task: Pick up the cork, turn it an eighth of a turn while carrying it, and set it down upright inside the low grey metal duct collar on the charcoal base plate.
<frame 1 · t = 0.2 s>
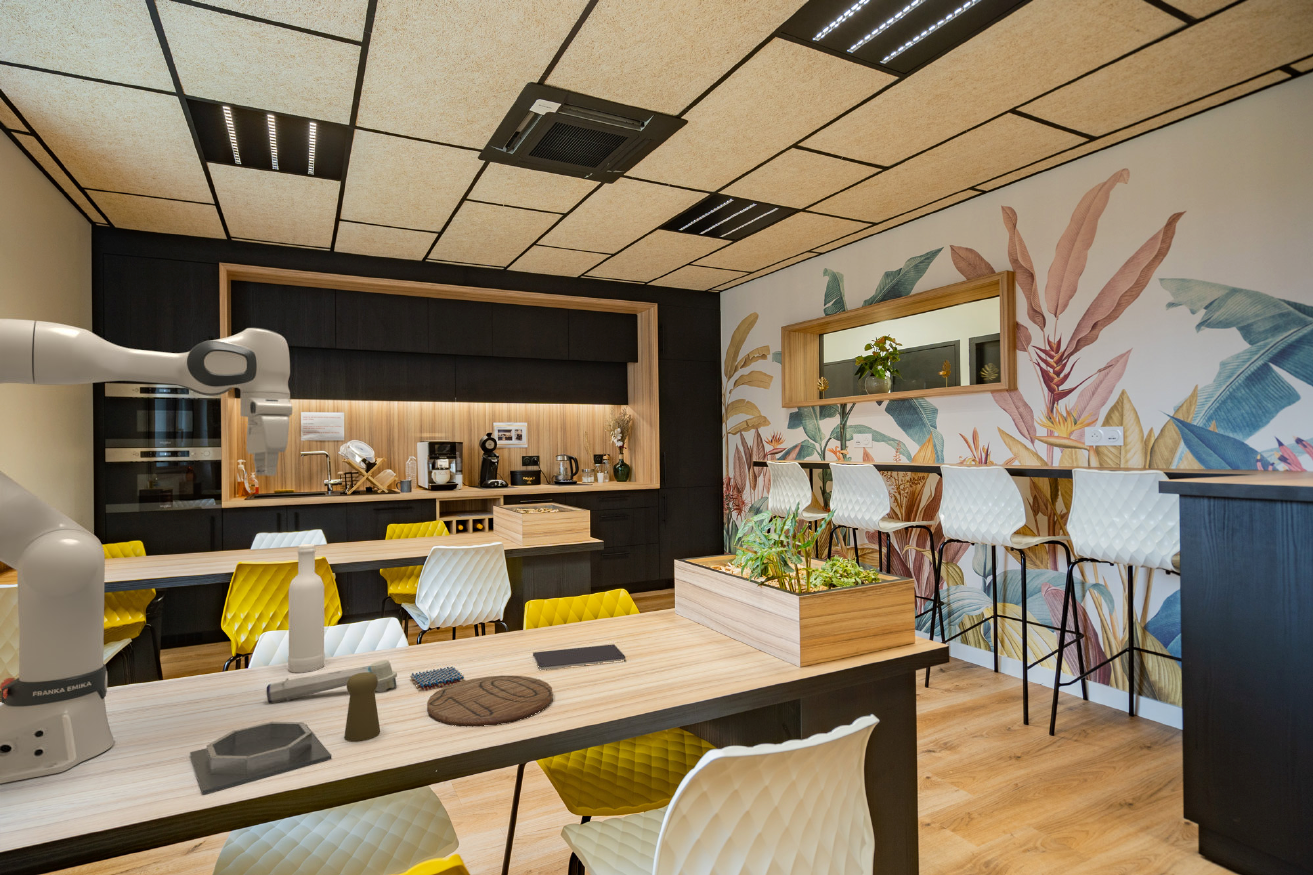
hand: (265, 475, 137), 48 cm above the table, tool pointing down, fingers open, 8 cm apart
notebook: (579, 661, 166), on the table
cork: (362, 735, 122), on the table
woven mat: (437, 684, 151), on the table
bottle: (306, 668, 163), on the table
toothbrush head: (334, 696, 144), on the table
trivet: (491, 705, 137), on the table
duct collar: (260, 757, 113), on the table
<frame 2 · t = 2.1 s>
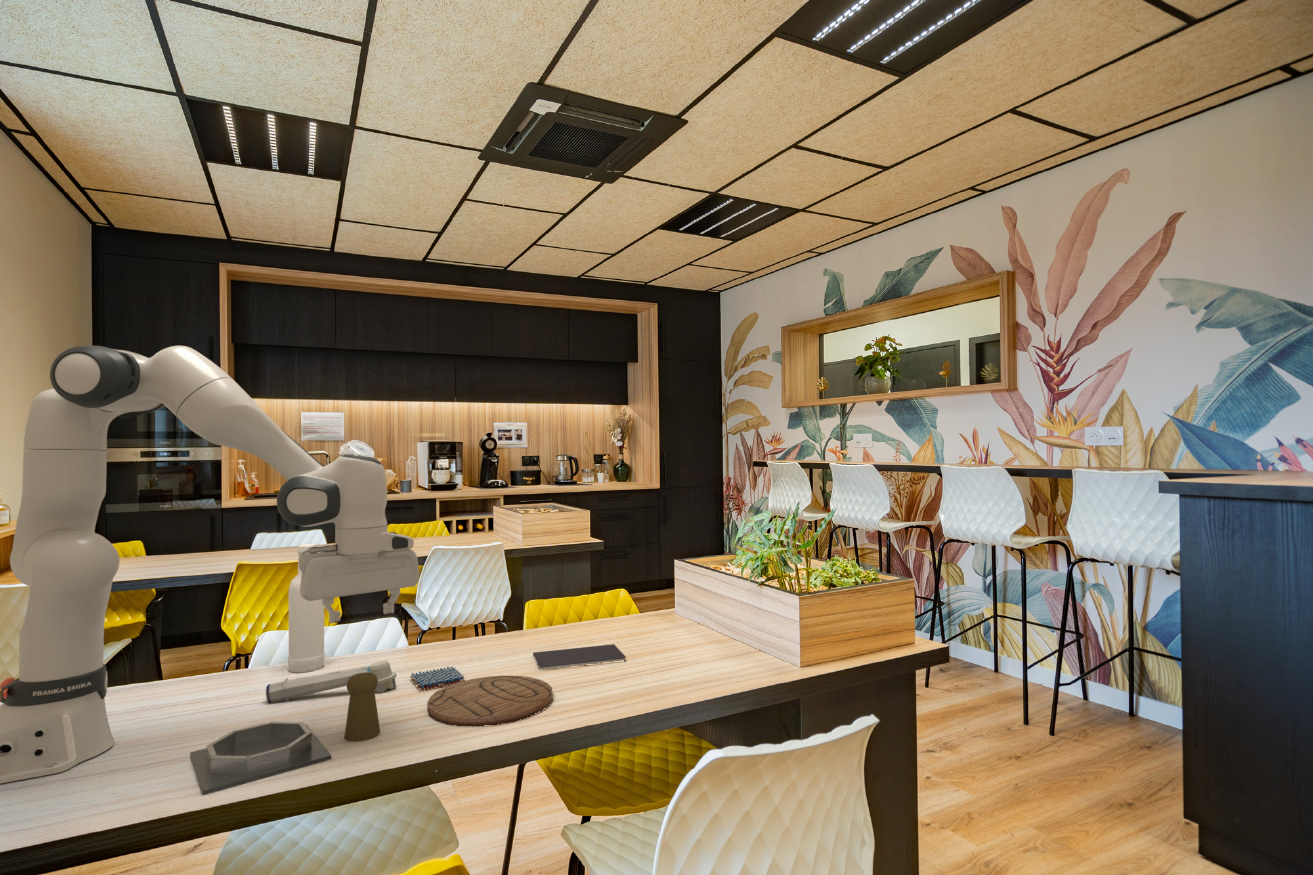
hand: (362, 617, 123), 21 cm above the table, tool pointing down, fingers open, 8 cm apart
nothing on the table moved.
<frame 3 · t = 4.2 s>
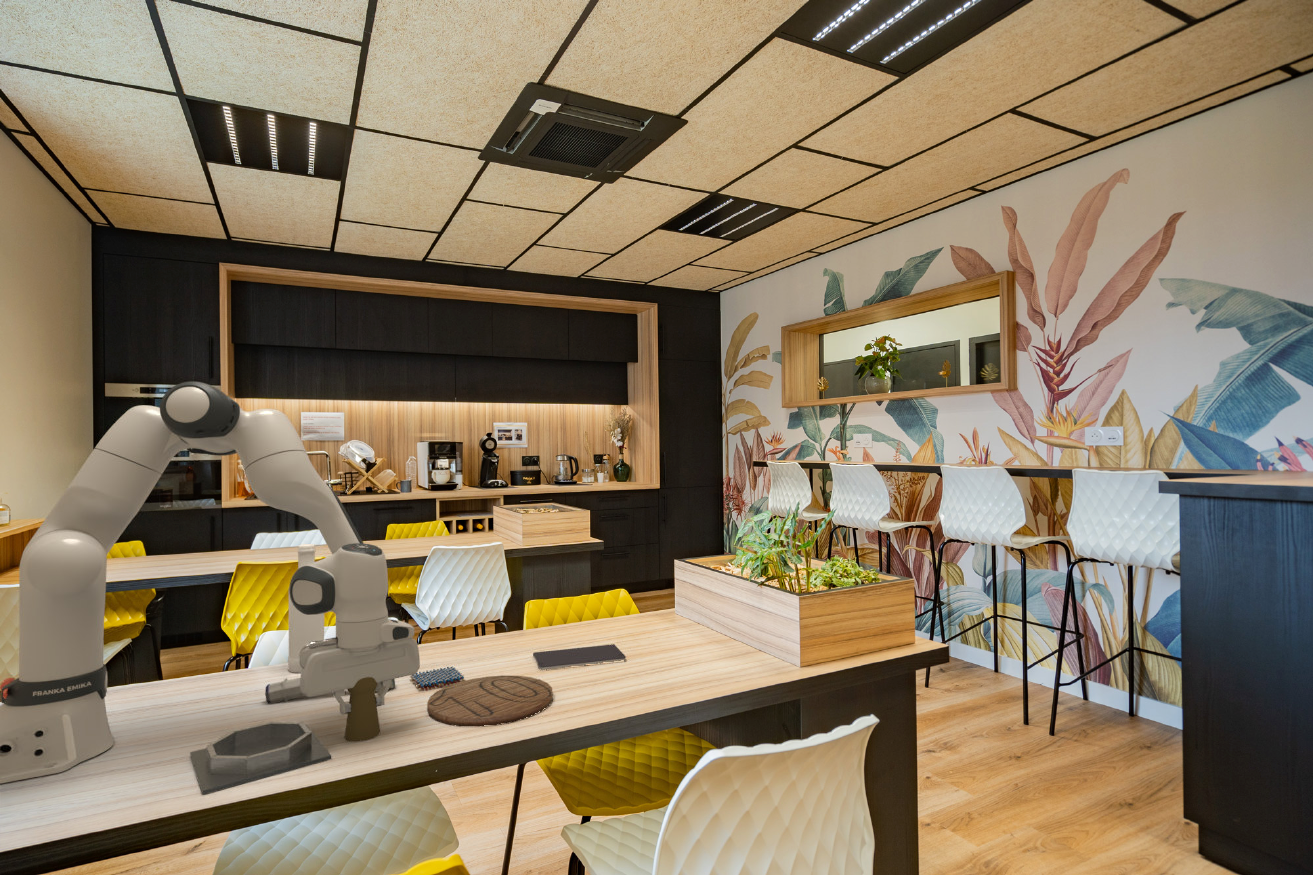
hand: (362, 709, 122), 5 cm above the table, tool pointing down, fingers closed on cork, 4 cm apart
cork: (362, 735, 122), on the table, touching gripper
everything else where it was.
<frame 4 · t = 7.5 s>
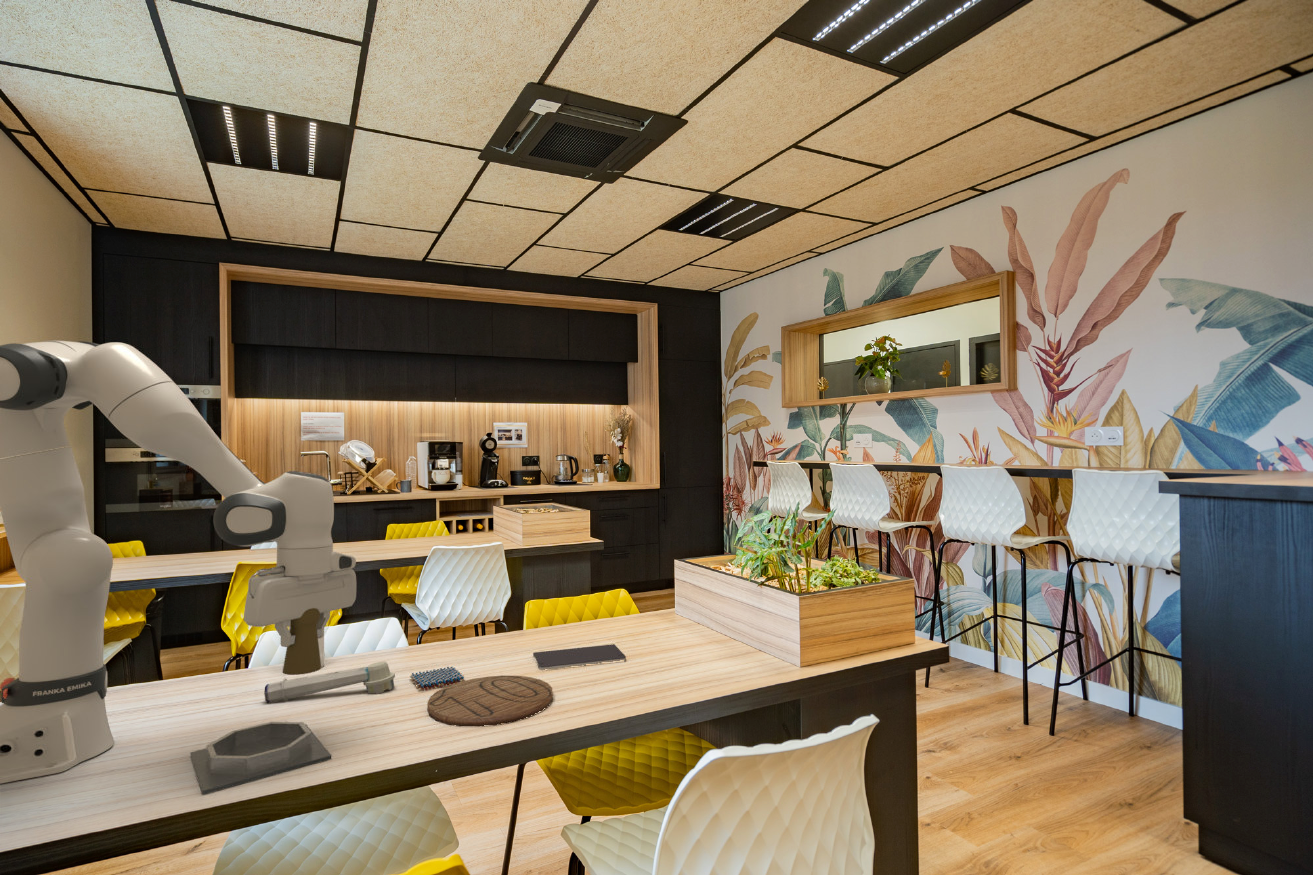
hand: (302, 641, 118), 18 cm above the table, tool pointing down, fingers closed on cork, 4 cm apart
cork: (302, 670, 117), point 13 cm above the table, touching gripper
everything else where it was.
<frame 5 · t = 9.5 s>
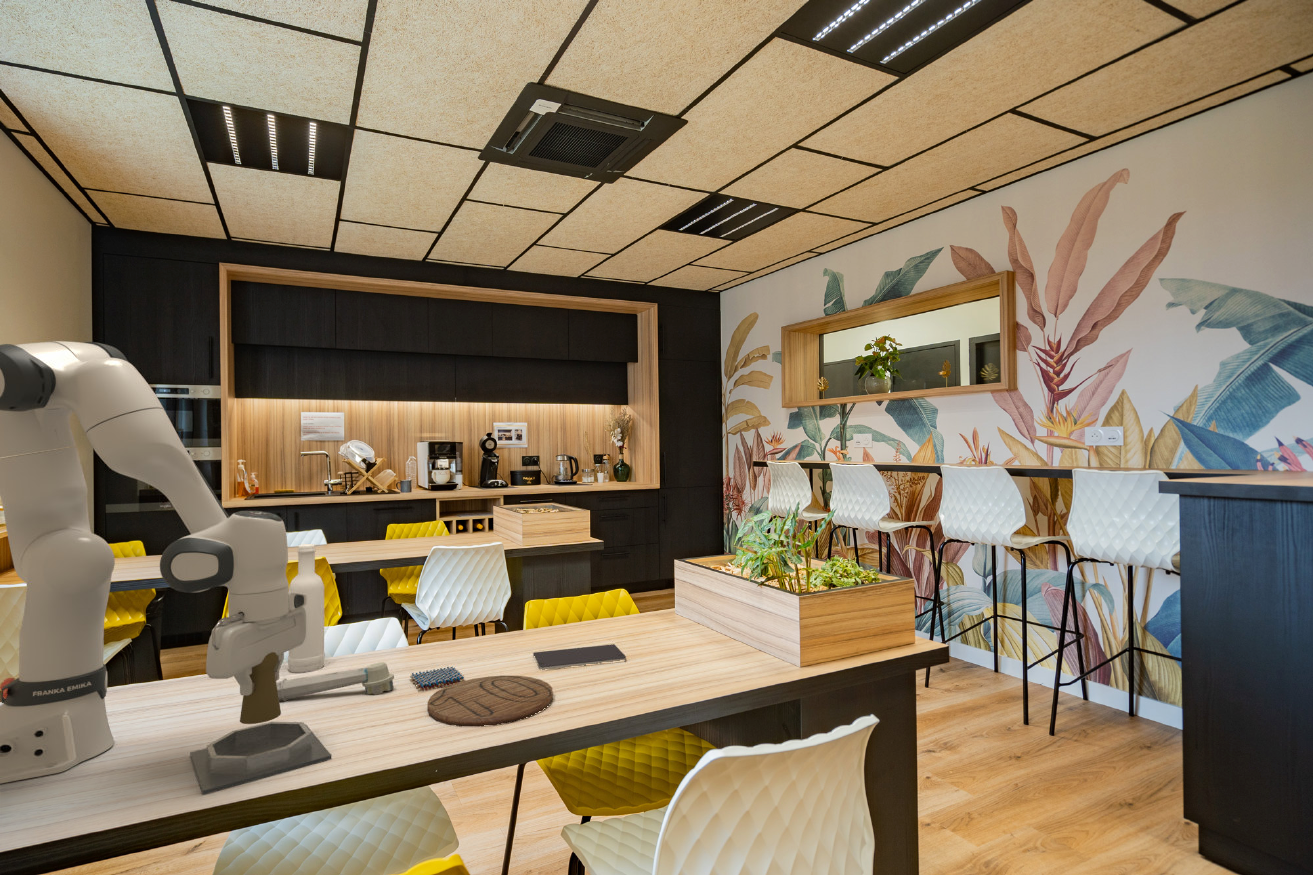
hand: (260, 687, 113), 12 cm above the table, tool pointing down, fingers closed on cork, 4 cm apart
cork: (260, 718, 113), point 7 cm above the table, touching gripper
everything else where it was.
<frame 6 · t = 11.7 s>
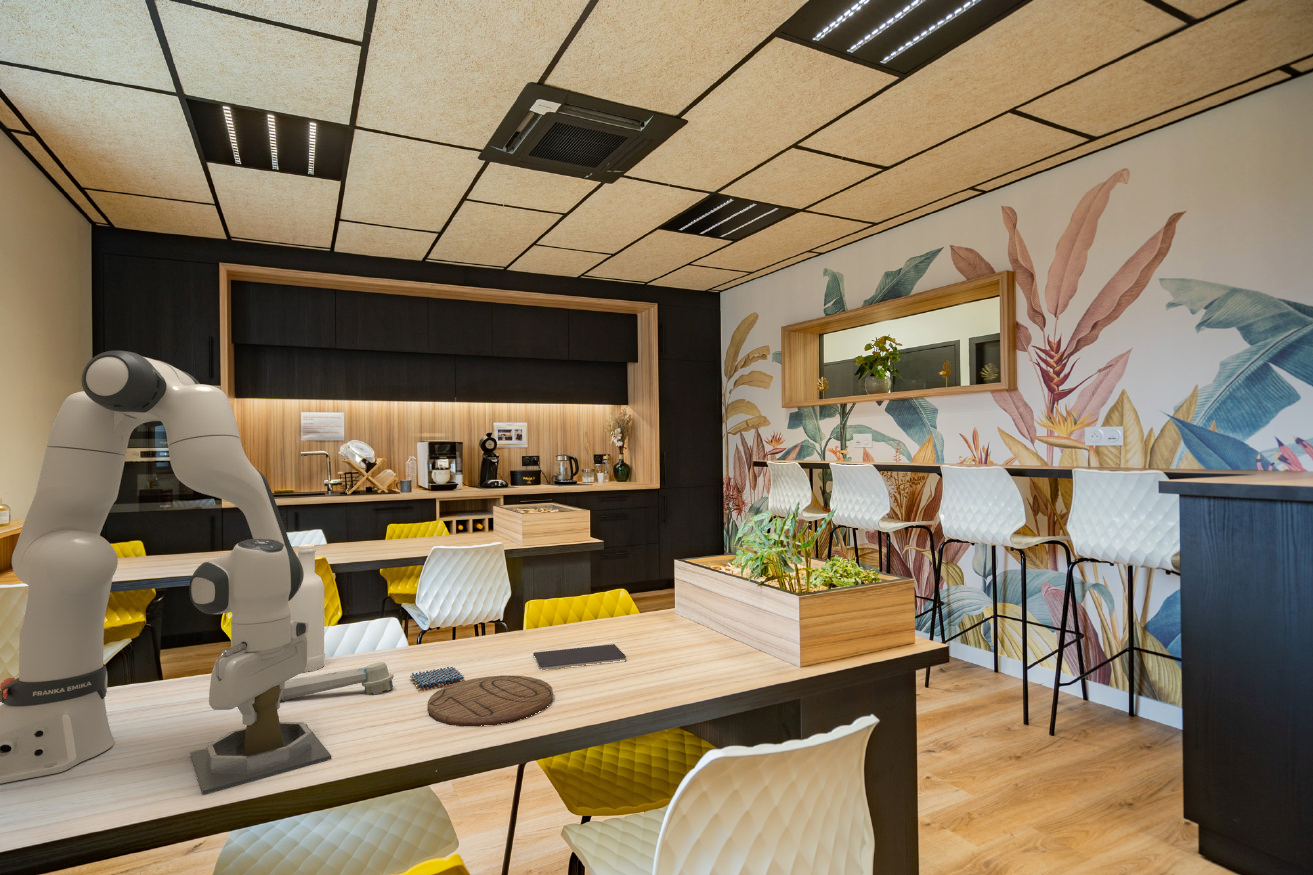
hand: (261, 716, 114), 7 cm above the table, tool pointing down, fingers closed on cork, 4 cm apart
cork: (263, 751, 114), point 1 cm above the table, touching duct collar, gripper
everything else where it was.
when the fingers open (7 cm above the table, at t = 11.7 s): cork moves 2 cm, point 1 cm above the table.
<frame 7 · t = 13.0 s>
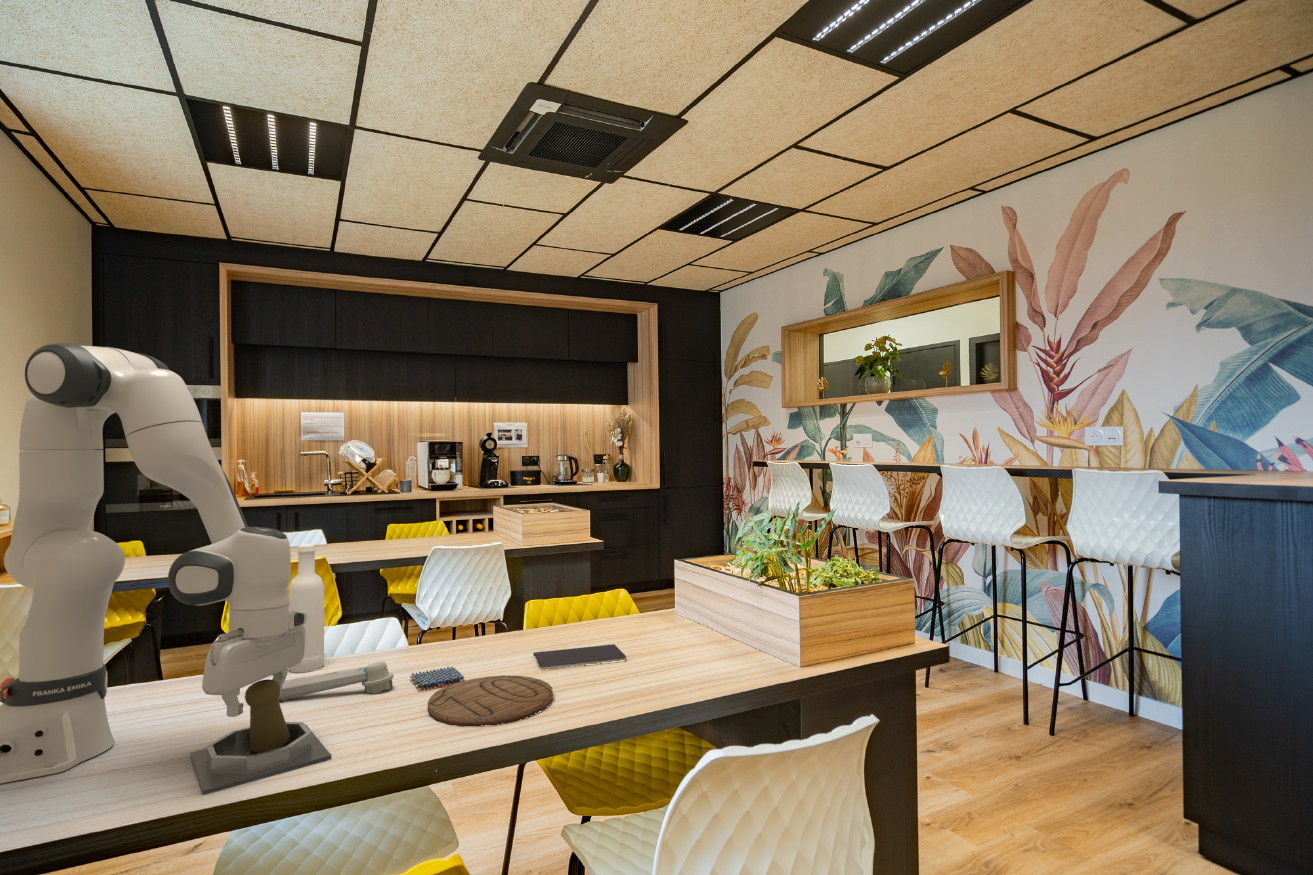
hand: (255, 705, 113), 9 cm above the table, tool pointing down, fingers open, 8 cm apart
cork: (270, 742, 116), point 1 cm above the table, touching gripper
everything else where it was.
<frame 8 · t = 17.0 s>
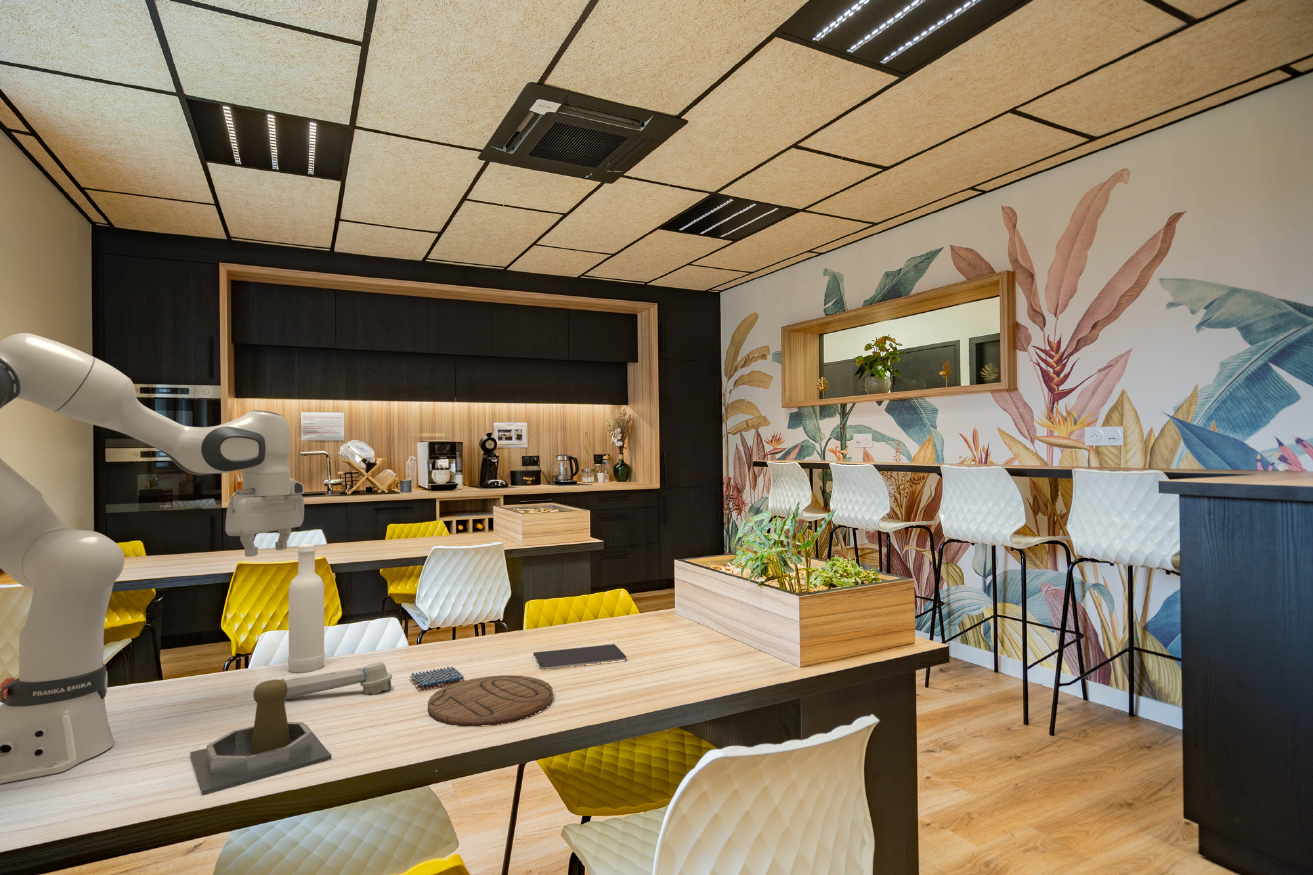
hand: (266, 552, 141), 31 cm above the table, tool pointing down, fingers open, 8 cm apart
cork: (270, 746, 117), resting on duct collar
at the end: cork inside the target area on the duct collar (3.4 cm from its centre), point 0.4 cm above the duct collar's base; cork tilted 0°; the gripper is holding nothing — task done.
